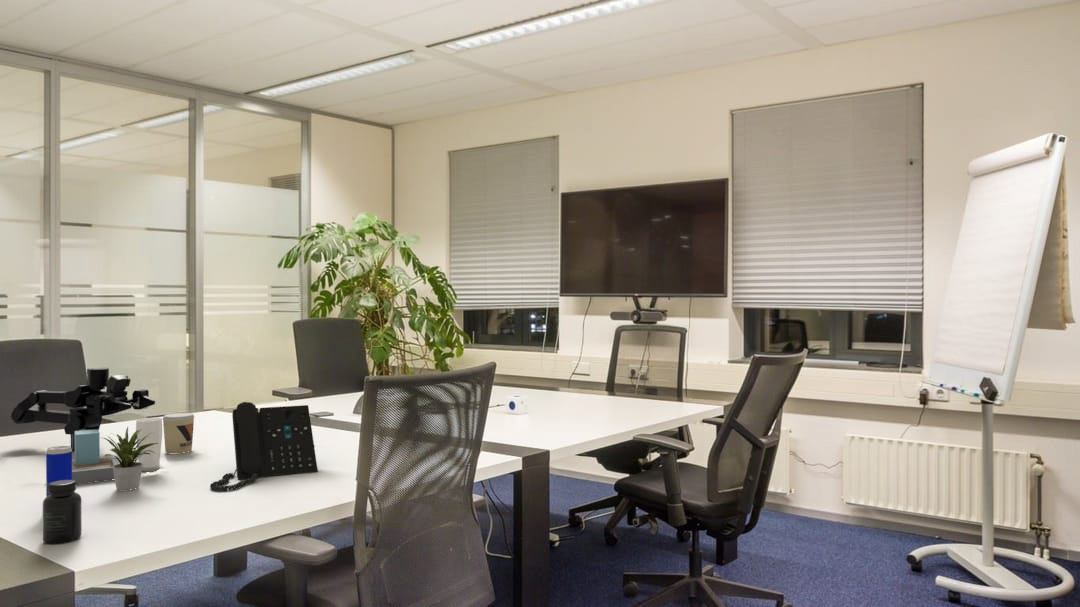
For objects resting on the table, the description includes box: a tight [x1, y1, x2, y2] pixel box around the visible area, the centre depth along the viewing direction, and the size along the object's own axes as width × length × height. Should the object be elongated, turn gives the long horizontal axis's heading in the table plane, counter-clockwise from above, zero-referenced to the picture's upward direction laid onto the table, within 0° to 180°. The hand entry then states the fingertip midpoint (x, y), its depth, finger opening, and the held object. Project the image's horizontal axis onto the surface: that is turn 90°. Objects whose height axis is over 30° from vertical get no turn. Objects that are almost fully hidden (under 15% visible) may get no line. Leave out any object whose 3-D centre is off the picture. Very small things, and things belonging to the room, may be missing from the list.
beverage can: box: [45, 445, 73, 498], centre depth 178 cm, size 5×5×15 cm
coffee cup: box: [162, 412, 195, 454], centre depth 246 cm, size 9×9×12 cm
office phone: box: [209, 401, 319, 492], centre depth 214 cm, size 29×28×20 cm
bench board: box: [72, 456, 112, 470], centre depth 221 cm, size 11×13×2 cm
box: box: [72, 457, 119, 485], centre depth 211 cm, size 14×13×4 cm
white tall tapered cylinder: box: [135, 417, 163, 473], centre depth 218 cm, size 7×7×15 cm
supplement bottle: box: [42, 480, 83, 545], centre depth 157 cm, size 7×7×12 cm
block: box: [74, 429, 101, 466], centre depth 223 cm, size 7×6×9 cm
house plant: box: [99, 426, 158, 491], centre depth 197 cm, size 14×14×16 cm
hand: (143, 404), depth 237 cm, fingers open, 9 cm apart
